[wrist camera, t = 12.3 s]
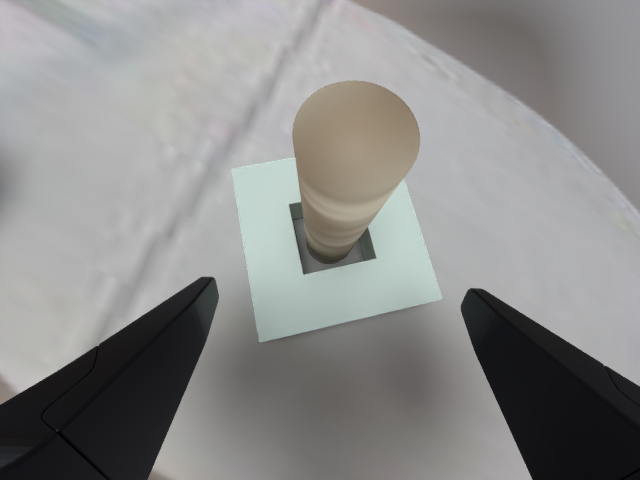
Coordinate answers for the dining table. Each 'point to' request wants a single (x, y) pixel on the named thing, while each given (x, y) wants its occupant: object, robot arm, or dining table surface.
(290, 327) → the collar block
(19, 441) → the robot arm
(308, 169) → the tall pin
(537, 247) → the dining table surface
